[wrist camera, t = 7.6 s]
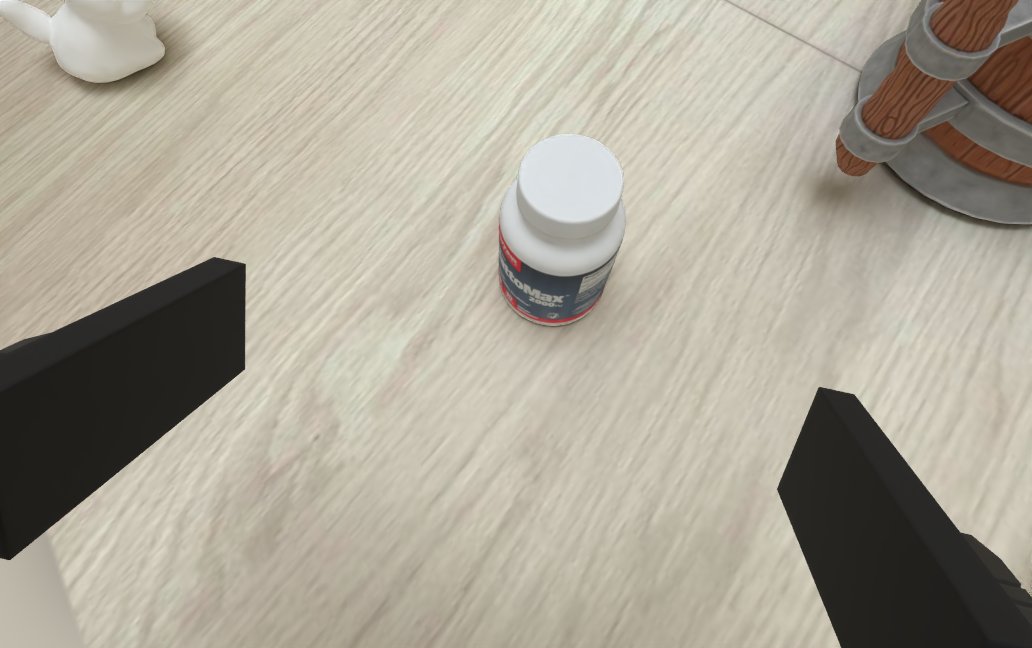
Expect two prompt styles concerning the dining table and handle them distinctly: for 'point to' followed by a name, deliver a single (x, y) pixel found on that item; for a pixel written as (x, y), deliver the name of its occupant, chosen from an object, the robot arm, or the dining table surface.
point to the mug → (951, 108)
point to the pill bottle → (561, 229)
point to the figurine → (92, 35)
